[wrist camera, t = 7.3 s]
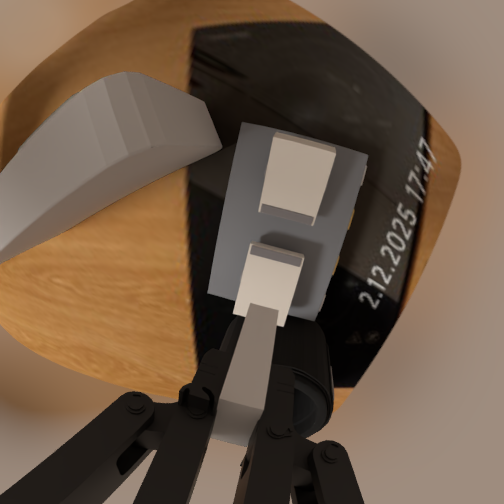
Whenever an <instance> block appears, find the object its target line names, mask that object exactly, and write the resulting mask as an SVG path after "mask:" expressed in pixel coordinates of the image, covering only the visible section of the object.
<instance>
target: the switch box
mask: <svg viewBox="0 0 504 504" xmlns="http://www.w3.org/2000/svg"><path fill="white" fill-rule="evenodd" d="M276 132H278V133H283V134H287V135H291V136H295V137H299V138H303V139H307V140H310V141H314V142H318V143H321V144H325V145H328V146H332V147H335V149H336V156H335V159H334V162H333V166H332V169H331V172H330V175H329V179H328V184H327V188H326V191H325V192H324V194H323V197H322V201H321V204H320V207H319V210H318V213H317V216H316V219H315V222H314V225H313V226H311V225H307V224H304V223H300V222H296V221H293V220H289V219H285V218H281V217H277V216H274V215H270V214H266V213H262V212H258V210H259V205H260V200H261V195H262V190H263V185H264V180H265V176H264V174H265V169H266V165H267V163H268V160H269V155H270V150H271V145H272V141H273V136H274V135H275V133H276ZM367 159H368V155H367V154H364V153H361V152H358V151H355V150H352V149H349V148H345V147H342V146H339V145H335V144H332V143H329V142H325V141H322V140H318V139H314V138H311V137H307V136H303V135H299V134H295V133H291V132H287V131H283V130H278V129H274V128H270V127H265V126H260V125H255V124H250V123H245V122H242V124H241V128H240V132H239V137H238V141H237V146H236V150H235V155H234V159H233V164H232V169H231V173H230V178H229V183H228V188H227V193H226V198H225V203H224V207H223V213H222V218H221V223H220V228H219V233H218V238H217V244H216V249H215V254H214V260H213V265H212V271H211V277H210V282H209V288H208V293H210V294H213V295H217V296H220V297H224V298H227V299H231V300H234V301H236V299H237V295H238V291H239V287H240V283H241V281H240V277H241V273H242V270H243V269H244V266H245V262H246V258H247V254H248V250H249V246H250V243H251V242H252V241H255V242H259V243H263V244H266V245H270V246H274V247H278V248H282V249H285V250H289V251H293V252H297V253H300V254H304V261H303V265H302V268H301V272H300V275H299V278H298V282H297V288H296V292H295V295H293V298H292V301H291V305H290V308H289V311H288V314H287V315H291V316H295V317H299V318H303V319H307V320H311V321H315V319H316V316H317V314H318V311H320V310H321V307H322V305H323V302H324V299H325V297H326V294H325V293H326V290H327V287H328V285H329V282H330V279H331V276H332V275H334V272H335V269H336V267H337V264H338V261H339V258H340V257H339V253H340V250H341V247H342V244H343V241H344V238H345V235H346V232H347V229H348V230H349V227H350V224H351V221H352V218H353V215H354V211H355V210H354V206H355V202H356V199H357V196H358V192H359V188H360V185H361V186H362V184H363V180H364V176H365V173H366V169H367V166H366V163H367Z"/></svg>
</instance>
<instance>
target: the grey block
mask: <svg viewBox="0 0 504 504" xmlns="http://www.w3.org/2000/svg"><path fill="white" fill-rule="evenodd" d="M220 149H222V144H221V142H220V139H219V137H218V134H217V132H216V129H215V127H214V124H213V122H212V119H211V117H210V114H209V112H208V109H207V107H206V104H205V102H204V101H202V100H200V99H198V98H195V97H193V96H191V95H189V94H187V93H185V92H183V91H181V90H179V89H176V88H174V87H172V86H170V85H168V84H165V83H163V82H161V81H158V80H156V79H154V78H151V77H149V76H147V75H144V74H142V73H138V72H125V71H124V72H120V73H116V74H113V75H109V76H106V77H103V78H101V79H99V80H97V81H96V82H94V83H92V84H91V85H89V86H87V87H86V88H84V89H83V90H81V91H80V92H78V93H76V94H74V95H72V96H71V97H70V98H69V99H67V100H66V101H65V102H64V103H63V104H62V105H61V106H60V107H59V108H58V109H56V110H55V111H54V112H53V113H52V114H51V115H50V116H49V117H48V118H47V119H46V120H45V121H44V122H43V123H42V124H41V125H40V126H39V127H38V128H37V129H36V130H35V131H34V132H33V133H32V134H31V135H30V136H29V138H28V139H27V140H26V141H25V142H24V143H23V144H22V145H21V146H20V147H19V149H18V152H17V154H16V155H15V156H14V157H13V158H12V159H11V161H10V162H9V163H8V164H7V165H6V167H5V168H4V169H3V170H2V172H1V173H0V264H1V263H3V262H5V261H7V260H9V259H11V258H13V257H15V256H16V255H18V254H20V253H22V252H24V251H26V250H28V249H30V248H32V247H35V246H37V245H39V244H41V243H43V242H45V241H47V240H49V239H51V238H53V237H55V236H57V235H59V234H61V233H63V232H65V231H67V230H68V229H70V228H72V227H73V226H75V225H76V224H78V223H80V222H81V221H83V220H85V219H86V218H88V217H90V216H91V215H93V214H95V213H96V212H98V211H100V210H102V209H103V208H105V207H107V206H109V205H110V204H112V203H114V202H116V201H118V200H119V199H121V198H123V197H125V196H127V195H129V194H130V193H132V192H134V191H136V190H138V189H140V188H142V187H144V186H146V185H148V184H150V183H152V182H154V181H156V180H158V179H160V178H162V177H164V176H166V175H168V174H170V173H172V172H174V171H176V170H178V169H180V168H182V167H185V166H187V165H189V164H191V163H193V162H196V161H198V160H200V159H202V158H205V157H207V156H209V155H211V154H213V153H215V152H217V151H218V150H220Z"/></svg>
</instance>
